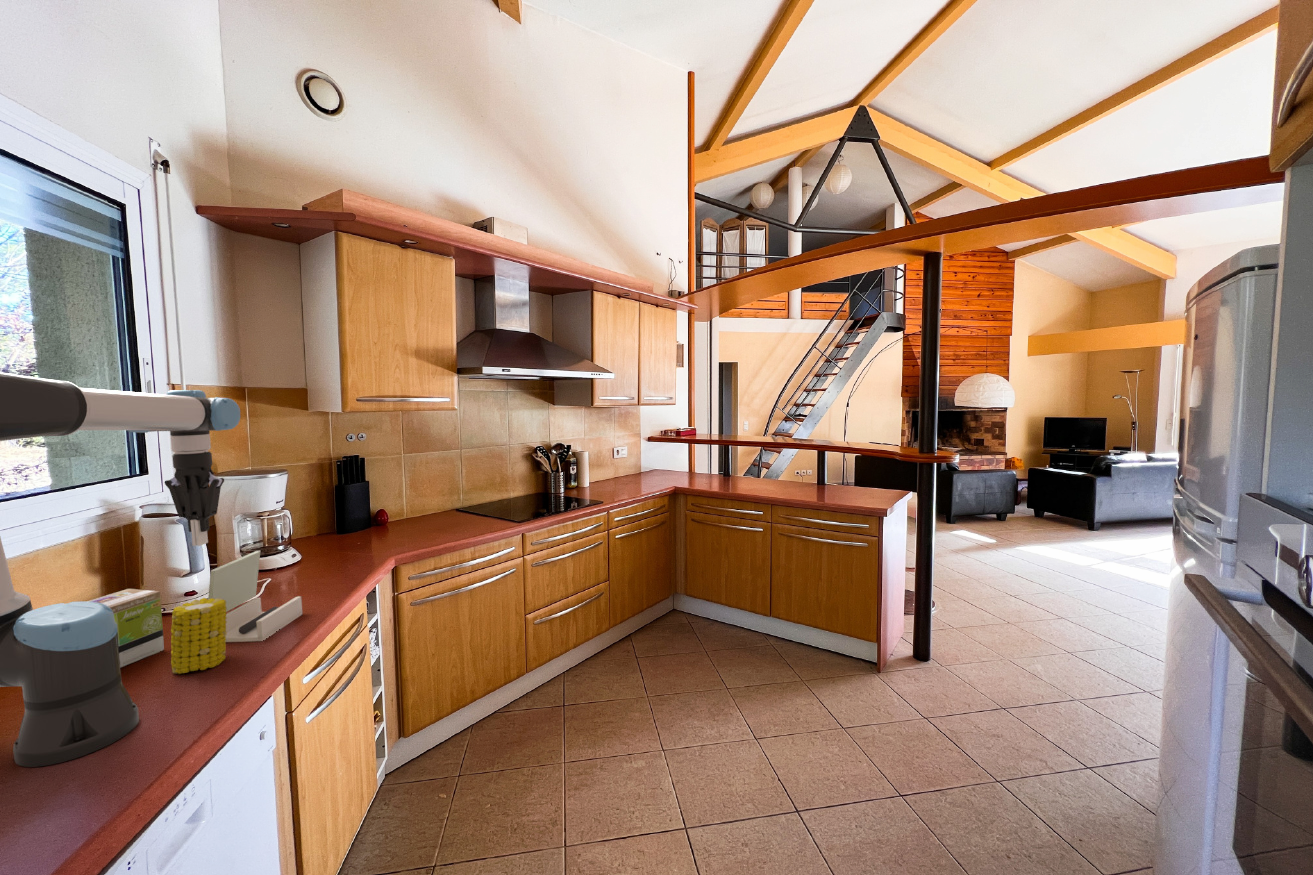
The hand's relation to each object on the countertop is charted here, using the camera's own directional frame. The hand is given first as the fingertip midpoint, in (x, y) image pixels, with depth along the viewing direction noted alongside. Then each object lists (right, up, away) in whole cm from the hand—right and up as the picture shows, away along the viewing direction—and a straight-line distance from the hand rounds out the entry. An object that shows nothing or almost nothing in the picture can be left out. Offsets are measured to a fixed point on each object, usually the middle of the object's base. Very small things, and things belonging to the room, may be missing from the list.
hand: (200, 544), depth 139 cm
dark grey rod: (+13, -21, +3) cm, 25 cm away
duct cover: (+8, -11, +1) cm, 13 cm away
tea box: (-7, -24, -15) cm, 29 cm away
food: (+14, -24, -16) cm, 32 cm away
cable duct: (+13, -22, +3) cm, 26 cm away
